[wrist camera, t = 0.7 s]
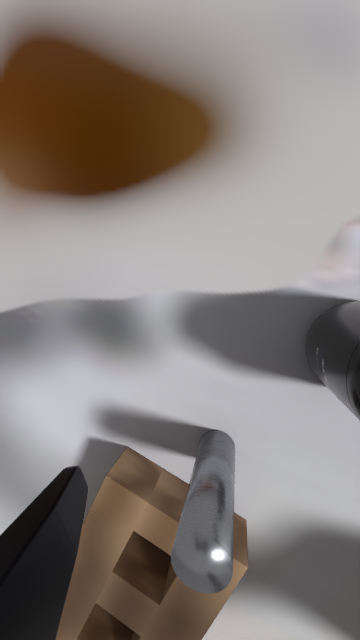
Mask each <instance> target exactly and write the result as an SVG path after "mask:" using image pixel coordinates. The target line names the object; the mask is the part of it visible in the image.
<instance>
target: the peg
mask: <svg viewBox="0 0 360 640" xmlns="http://www.w3.org/2000/svg"><path fill="white" fill-rule="evenodd" d="M234 483H235V445H234V442H233V440H232V439H231V437H230V436H229V435H227V434H226V433H224V432H222V431H218V430H213V431H209V432H207V433H206V434H204V435H203V437H202V438H201V441H200V445H199V448H198V452H197V456H196V460H195V464H194V468H193V472H192V475H191V479H190V483H189V487H188V491H187V495H186V498H185V502H184V506H183V510H182V514H181V518H180V521H179V525H178V529H177V533H176V537H175V541H174V545H173V548H172V552H171V563H172V567H173V570H174V572H175V574H176V575H177V577H178V578H179V579H180V580H181V581H182V582H183V583H184V584H185V585H186V586H187V587H189V588H191V589H193V590H195V591H197V592H200V593H206V594H212V593H217V592H220V591H222V590H223V589H225V588H226V587H227V586H228V585H229V583H230V581H231V579H232V575H233V536H234Z"/></svg>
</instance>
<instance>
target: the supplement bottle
mask: <svg viewBox="0 0 360 640" xmlns="http://www.w3.org/2000/svg"><path fill="white" fill-rule="evenodd" d="M306 353H307V358H308V362H309V364H310V366H311V368H312V370H313V371H314V373H315V374H316V375H317V377H318V378H319V379H320V380H321V381H322V382H323V383H324V384H325V385H326V386H327V387H328V388H329V389H330V390H331V391H332V392H333V393H334V395H335V396H336V397H337V398H338V399H339V400H340V401H341V402H342V403H343V404H344V405H345V406H346V407H347V408H348V409H349V410H350V411H351V412H352V413H353V414H354V415H355V416H356V417H357V418H358V419H359V420H360V301H354V302H347V303H343V304H340V305H337V306H335V307H333V308H331V309H329V310H328V311H326V312H325V313H324V314H322V315H321V316H320V317H319V318H318V319H317V320H316V322H315V323H314V324H313V326H312V328H311V330H310V332H309V334H308V338H307V343H306Z"/></svg>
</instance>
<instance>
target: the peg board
mask: <svg viewBox="0 0 360 640" xmlns="http://www.w3.org/2000/svg"><path fill="white" fill-rule="evenodd" d="M188 487H189V485H188V484H187V483H185V482H184V481H182V480H180V479H179V478H177V477H176V476H174V475H172V474H171V473H169V472H168V471H166V470H164V469H163V468H161V467H159V466H158V465H156V464H155V463H153V462H151V461H150V460H148V459H147V458H145V457H143V456H142V455H140V454H139V453H137V452H135V451H134V450H132V449H130V448H129V447H127V448H126V449H125V451H124V452H123V453H122V455H121V456H120V457H119V459H118V460H117V461H116V463H115V464H114V465H113V467H112V468H111V470H110V471H109V472H108V474H107V475H106V477H105V479H104V481H103V483H102V485H101V487H100V489H99V491H98V494H97V496H96V498H95V500H94V502H93V504H92V506H91V508H90V510H89V512H88V514H87V517H86V519H85V521H84V523H83V525H82V530H81V536H80V542H79V547H78V553H77V557H76V561H75V565H74V569H73V573H72V577H71V581H70V585H69V589H68V593H67V597H66V601H65V604H64V608H63V612H62V616H61V620H60V624H59V628H58V632H57V636H56V640H202V638H203V637H204V635H205V633H206V632H207V630H208V629H209V627H210V626H211V624H212V623H213V621H214V620H215V618H216V617H217V615H218V613H219V612H220V610H221V609H222V607H223V606H224V604H225V603H226V601H227V600H228V598H229V597H230V595H231V593H232V592H233V590H234V589H235V587H236V586H237V584H238V583H239V581H240V580H241V578H242V577H243V575H244V573H245V572H246V570H247V569H248V551H247V524H246V520H245V519H243V518H242V517H240V516H238V515H237V514H235V513H234V536H233V575H232V579H231V581H230V583H229V585H228V586H227V587H226V588H225V589H223V590H222V591H220V592H217V593H212V594H206V593H200V592H197V591H195V590H193V589H191V588H189V587H187V586H186V585H185V584H184V583H183V582H182V581H181V580H180V579H179V578H178V577H177V575H176V574H175V572H174V570H173V567H172V563H171V552H172V548H173V545H174V541H175V537H176V533H177V529H178V525H179V521H180V518H181V514H182V510H183V506H184V502H185V498H186V495H187V491H188Z"/></svg>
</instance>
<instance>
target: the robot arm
mask: <svg viewBox="0 0 360 640" xmlns="http://www.w3.org/2000/svg"><path fill="white" fill-rule="evenodd" d="M87 493H88V487H87V483H86V480H85V478H84V475H83V473H82V470H81V468H80V467H79V466H72V467H67V468H65V469H63V470H62V471H61V472H60V473H59V474H58V476H57V477H56V478H55V479H54V480H53V481H52V482H51V483H50V484H49V485H48V486H47V487H46V488H45V489H44V490H43V491H42V492H41V493H40V494H39V495H38V497H37V498H36V499H35V500H34V501H33V502H32V503H31V504H30V505H29V506H28V507H27V508H26V509H25V510H24V511H23V512H22V513H21V514H20V515H19V516H18V518H17V519H16V520H15V521H14V522H13V523H12V524H11V525H10V526H9V527H8V528H7V529H6V530H5V531H4V532H3V533H2V534H1V535H0V640H56V636H57V632H58V628H59V624H60V620H61V616H62V612H63V608H64V604H65V601H66V597H67V593H68V589H69V585H70V581H71V577H72V573H73V569H74V565H75V561H76V557H77V553H78V547H79V542H80V536H81V530H82V524H83V518H84V512H85V506H86V500H87Z"/></svg>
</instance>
